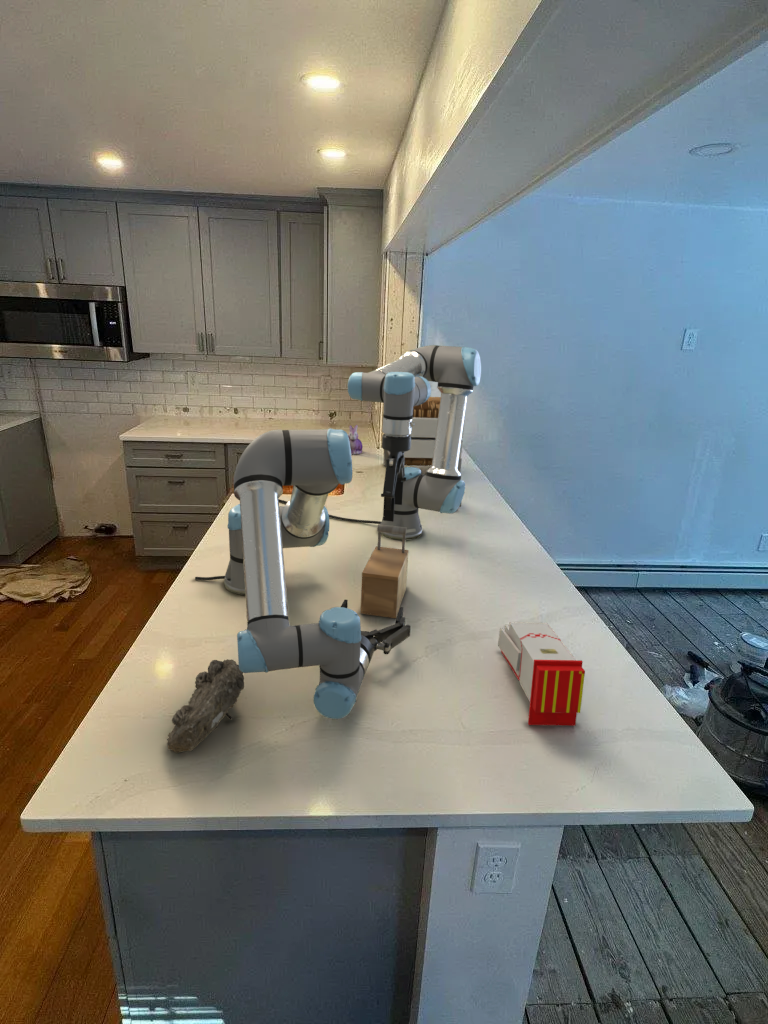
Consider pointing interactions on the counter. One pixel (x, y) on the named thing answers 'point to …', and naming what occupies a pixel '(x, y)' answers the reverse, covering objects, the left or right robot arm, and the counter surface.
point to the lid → (387, 557)
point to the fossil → (206, 705)
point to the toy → (544, 672)
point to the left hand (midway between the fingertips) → (373, 608)
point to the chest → (383, 595)
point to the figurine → (354, 441)
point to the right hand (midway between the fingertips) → (392, 512)
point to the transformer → (424, 435)
